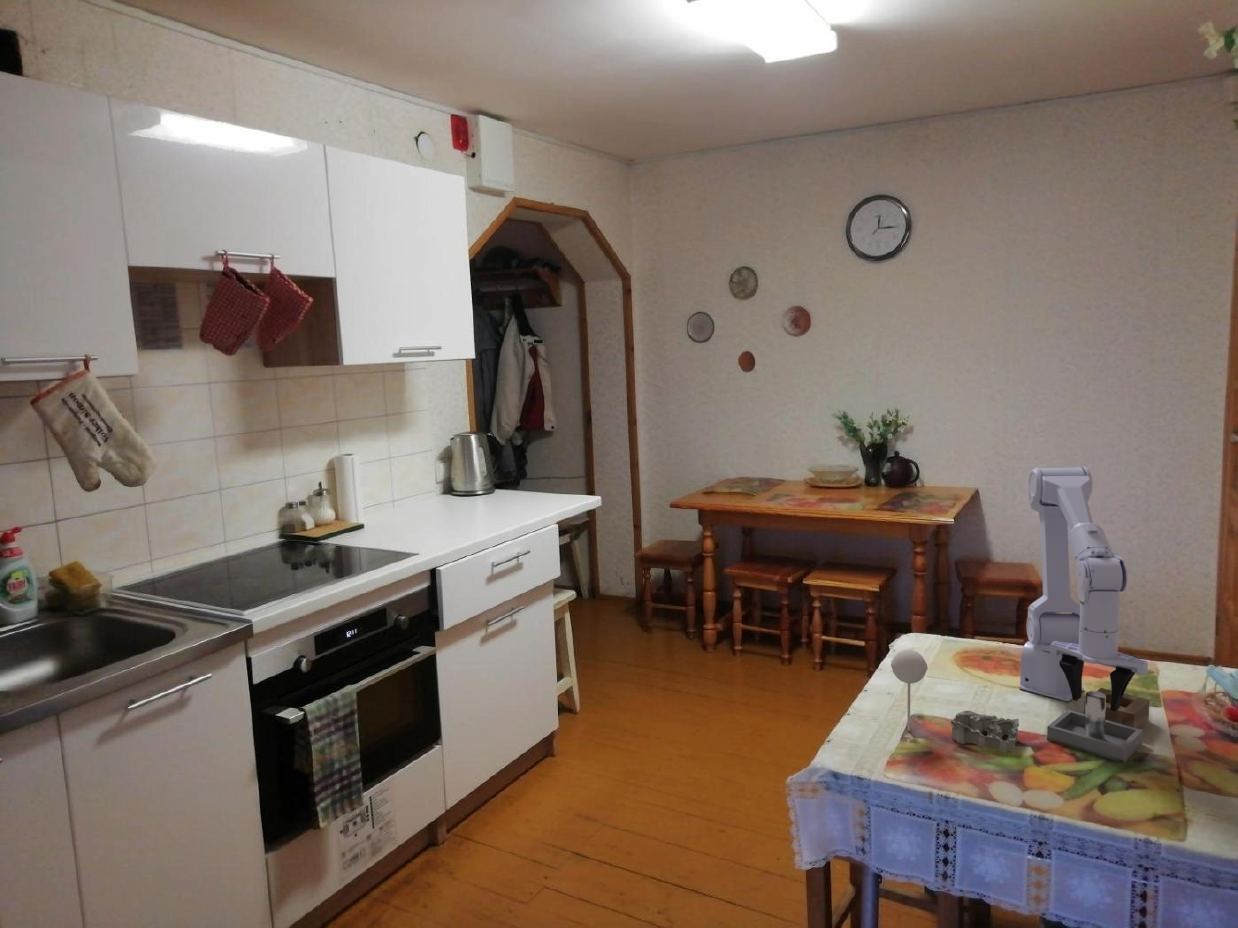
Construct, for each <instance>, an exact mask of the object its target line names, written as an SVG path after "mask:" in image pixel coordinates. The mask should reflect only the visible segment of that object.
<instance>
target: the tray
mask: <svg viewBox="0 0 1238 928" xmlns="http://www.w3.org/2000/svg"><path fill="white" fill-rule="evenodd" d="M1046 727H1047V728H1046V729H1047V730H1046V739H1047V740H1046V741H1049V742H1052V743H1056V744H1059V745H1063V746H1066V747H1068V748H1071V749H1075V750H1079V751H1082V752H1084V753H1085V752H1086V753H1089V754H1092V755H1095V756H1099V757H1102V758H1105V759H1109V760H1112V761H1114V762H1118V763H1121V764H1124V763H1126V762H1127V761H1128V759H1130V758H1131V757H1132V755H1134V753H1135V752H1136V751H1138V749H1139V748H1140V747H1141V746H1142V745H1143V735H1144V730H1143V729H1137V728H1133V727H1129V726H1126V725H1122V724H1119V723H1115V722H1111V721H1108V720H1105V741H1103V740H1100V739H1096V738H1093V737H1089V736H1086V735H1085V714H1084V713H1082V712H1078V711H1074V710H1072V709H1071V710H1070V709H1067V710H1066V711H1064V712H1063V713H1062V714H1061V715H1059V716H1058V717H1057V718H1056V719H1054V720H1053V721H1052V722H1051V723H1049V724H1048V725H1047V726H1046Z"/></svg>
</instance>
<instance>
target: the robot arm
mask: <svg viewBox="0 0 1238 928" xmlns="http://www.w3.org/2000/svg"><path fill="white" fill-rule="evenodd" d="M1027 484H1028V502H1029V507H1030V508H1029V509H1031V510H1033V511H1035V512H1037V513H1038V517H1039V525H1040V527H1039V528H1040V548H1041V573H1042V578H1041V579H1042V596H1040V597H1039V598H1038V599H1036V600H1035V601H1032V603H1031V604H1030V605H1029V606H1028V608H1027V617H1026V634H1027V639H1028V640H1027V641H1026V642H1025V644H1024V645H1023V648H1022V650H1021V654H1020V674H1019V675H1020V681H1019V685H1018V689H1021V690H1024V691H1027V692H1031V693H1035V694H1039V695H1041V696H1046V697H1050V698H1053V699H1057V700H1061V701H1065V702H1070V701H1071V700H1072V701H1074V702H1077V701H1079V700H1080V699H1081V698H1082V694H1083V693H1082V691H1084V690H1085V687H1084V686H1083V671H1084V664H1085V663H1088V664H1091V665H1092V664H1093V665H1096V664H1098V665H1101V666H1105V667H1109V668H1114V670H1113V671H1111V672H1110V673H1109V679H1110V687H1111V689H1110V690H1112V695H1111V711H1117V710H1118V709H1119V708H1120V703H1121V700H1122V697H1123V694H1125V691H1126V690H1127V687H1128V686H1129V684H1130V682H1131V680H1132V679H1133V678H1134V676H1135V675H1138V676H1141V677H1143V676H1145V675H1147V673H1148V670H1149V668H1148V667H1149V666H1148V664H1149V661H1147V660H1143V659H1140V658H1136V657H1135V656H1132V655H1131V656H1130V655H1128V654H1125V653H1122V652H1119V651H1118V646H1119V645H1118V644H1119V643H1118V642H1119V624H1120V623H1119V621H1120V600H1121V597H1120V596H1121V593H1122V592H1124V591H1126V589H1127V585H1128V571H1127V566H1126V563H1125V560H1124V559H1123V557H1121V556H1119V555H1118V553H1116V552H1113V551H1112V549H1111V546H1110V543H1109V542H1108V538H1107V536H1106V533H1105V532H1104V529H1103V528H1102V527H1101V526H1100V525H1099V524H1096V523H1094V521H1093V517H1092V515H1091V510H1090V507H1089V500H1090V496H1091V495H1092V492H1093V491H1092V490H1093V477H1092V473H1091V470H1089V469H1088V468H1087V467H1086V466H1080V467H1043V468H1040V467H1033V469H1032V470H1031V471H1030V472H1029V476H1028V479H1027ZM1068 526H1069V528H1070V530H1069V529H1068ZM1069 546H1070V550H1071V551H1072V555H1073V557H1074V560H1075V563H1076V568H1075V580H1076V585H1077V598H1078V599H1079V600H1080V601H1079V602H1077V601H1076V600H1074V599H1073V598H1071V577H1070V574H1071V573H1070V553H1069ZM1120 592H1121V593H1120Z"/></svg>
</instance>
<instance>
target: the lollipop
mask: <svg viewBox="0 0 1238 928" xmlns="http://www.w3.org/2000/svg"><path fill="white" fill-rule="evenodd" d="M890 667H891V669H892V672H893V675H894V676H895V677H896V679H898V680H899V681H900V682H903V683H905V684H907V715H906V716H907V719H906V720H907V721H906V722H907V725H906V726H907V731H908V732H910V730H911V684H915V683H918V682H920V681H921V680H922V679H924V677H925V676H926V674H927V671H928V669H929V668H928V663H927V662H926V660H925V658H924V656H922V654H920V652H918V651H915V650H913V649H903V650H902V649H901V650H900V651H898V652H897V653H896V654H895V655H894V656H893V658H892V660H891V663H890Z"/></svg>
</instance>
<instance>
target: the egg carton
mask: <svg viewBox="0 0 1238 928" xmlns="http://www.w3.org/2000/svg"><path fill="white" fill-rule="evenodd" d="M950 724H951V725H950V726H951V739H952V740H954V741H956V742H957V743H958V744H960V745H964V744H968V743H969V744H970V743H972V744H974V745H977V747H978V748H985V749H986V748H988V747H991V748H992V747H993V748H996V749H997V750H998V751H999V752H1003V753H1007V752H1009V751H1013V752H1014V751H1015V750H1016V743H1017V742H1018V740H1019V738H1018V736H1019V735H1018V733H1019V725H1020V721H1019V718H1014V719H1013V718H1012V719H1010V718H1006V719H1005V718H1003V717H1000V718H998V716H996V715H987V714H980V713H977V712H974V711H972V710H963V711H960V712H958V713H956V715H955V716H954V718H953V720H950ZM983 732H987V735H984V734H982V733H983ZM1005 735H1006V736H1008V737H1007V739H1006V740H1005V739H1003V736H1005Z"/></svg>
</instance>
